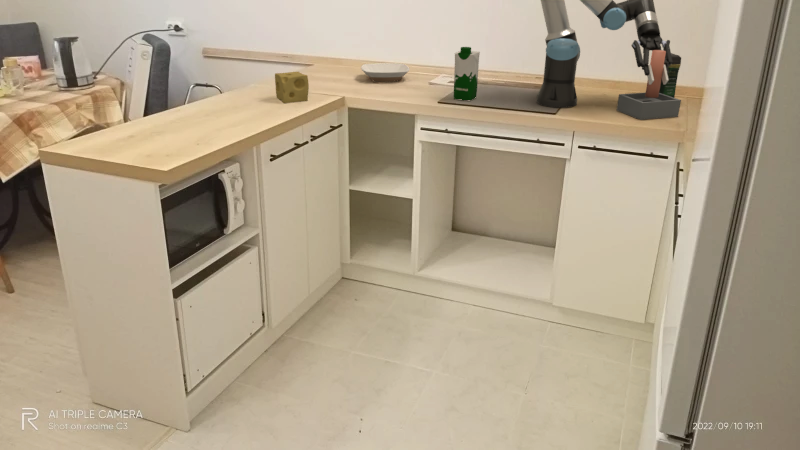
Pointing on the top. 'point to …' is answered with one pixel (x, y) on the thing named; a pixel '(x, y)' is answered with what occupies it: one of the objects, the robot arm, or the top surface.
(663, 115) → the box
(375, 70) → the bowl
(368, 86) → the top surface
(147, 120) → the top surface
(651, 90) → the peg
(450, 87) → the top surface
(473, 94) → the milk carton
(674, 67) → the coffee jar
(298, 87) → the cheese
